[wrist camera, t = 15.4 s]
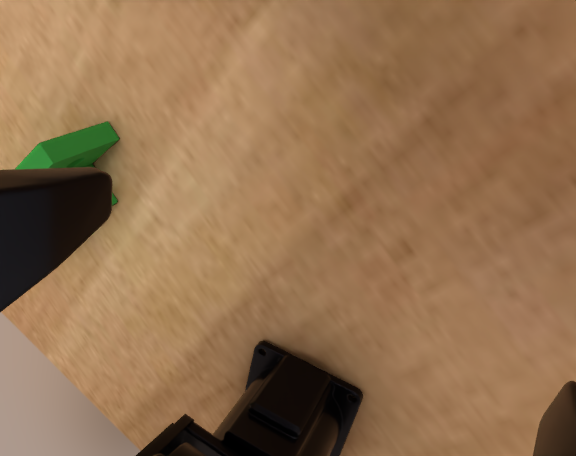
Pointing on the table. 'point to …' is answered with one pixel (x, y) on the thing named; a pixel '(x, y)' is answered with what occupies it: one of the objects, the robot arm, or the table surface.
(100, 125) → the pipe clamp
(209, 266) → the table surface
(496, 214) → the table surface
